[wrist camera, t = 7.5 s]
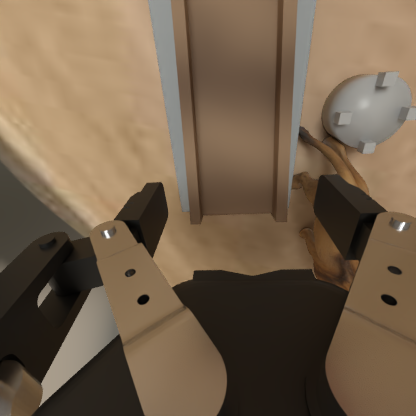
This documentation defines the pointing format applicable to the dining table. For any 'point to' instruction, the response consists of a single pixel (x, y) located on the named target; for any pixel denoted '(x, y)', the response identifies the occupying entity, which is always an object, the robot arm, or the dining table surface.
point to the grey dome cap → (368, 110)
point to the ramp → (236, 103)
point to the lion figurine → (319, 239)
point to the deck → (169, 79)
